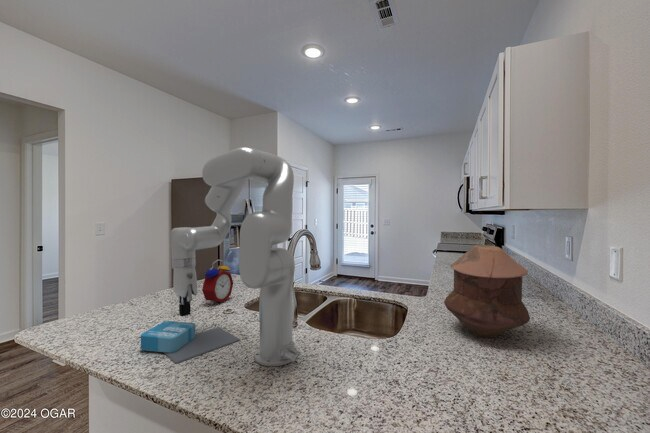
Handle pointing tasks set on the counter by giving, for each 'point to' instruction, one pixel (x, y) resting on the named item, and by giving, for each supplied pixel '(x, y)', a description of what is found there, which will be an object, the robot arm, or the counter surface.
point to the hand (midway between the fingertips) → (184, 314)
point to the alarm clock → (217, 284)
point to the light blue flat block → (168, 336)
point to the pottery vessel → (487, 291)
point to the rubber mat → (203, 344)
